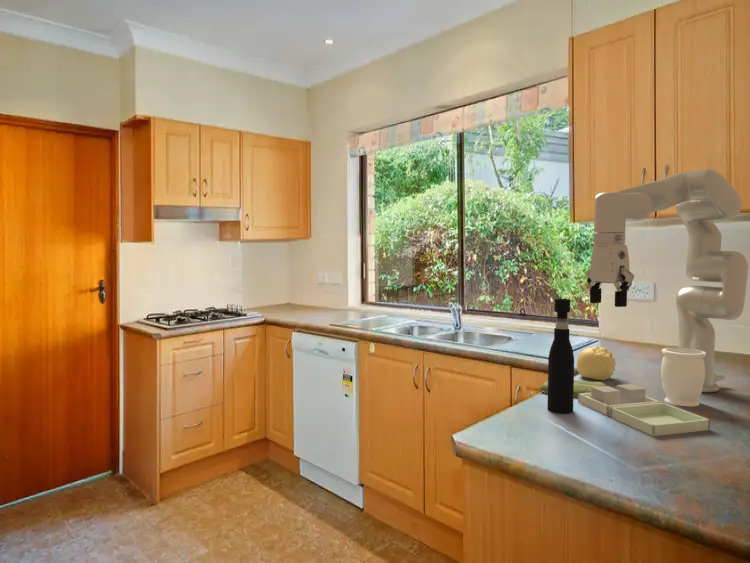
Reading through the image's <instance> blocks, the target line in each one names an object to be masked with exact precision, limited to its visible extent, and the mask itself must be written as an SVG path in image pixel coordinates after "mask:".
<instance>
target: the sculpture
mask: <svg viewBox="0 0 750 563" xmlns="http://www.w3.org/2000/svg"><path fill="white" fill-rule="evenodd" d="M615 359H616V358H615V356H613V352H612V351H609V350H608V349H607V348H606V347H601V346H597V345H594V346H593V347H587V348H585V349H582V351H580V352H579V354H578V355H577V358H576V369H577V371H578V372H577V373H578V374H579V375H580V376H581V377H583V378H587V379H592V380H596V381H606V380H607V379H610V378H611V377H612V376H613V374H614V372H615V371H616V368H615V367H616V360H615Z"/></svg>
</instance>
